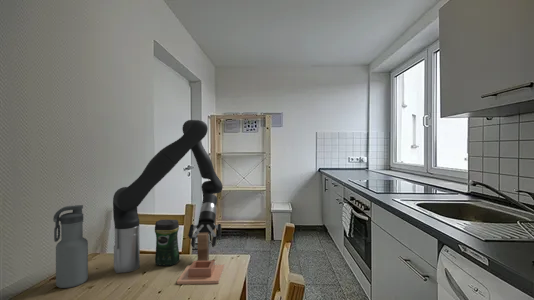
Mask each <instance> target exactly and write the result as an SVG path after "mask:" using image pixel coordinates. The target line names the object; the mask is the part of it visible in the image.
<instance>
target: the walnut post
mask: <svg viewBox="0 0 534 300" xmlns="http://www.w3.org/2000/svg"><path fill="white" fill-rule="evenodd" d="M209 235H210V234H209V232H207V233H199V234H198V235H197V238H196V240H197V242H196V244H197V245H196V246H197V261H208V260H210V245H209V237H210V236H209Z"/></svg>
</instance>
